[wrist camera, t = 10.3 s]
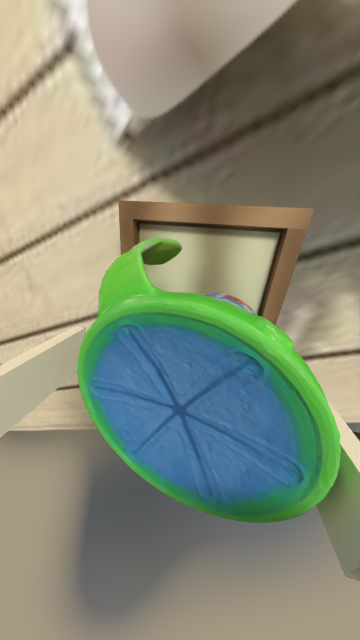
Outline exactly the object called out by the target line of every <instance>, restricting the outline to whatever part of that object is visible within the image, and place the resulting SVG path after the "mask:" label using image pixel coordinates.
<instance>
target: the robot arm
mask: <svg viewBox="0 0 360 640" xmlns="http://www.w3.org/2000/svg"><path fill="white" fill-rule="evenodd" d="M85 335H86V332H85V328H82V327H76V326H75V327H73V328H71V329H69V330H67V331H65V332H63V333H61V334H59V335H58V336H56V337H54V338H52V339H50V340H48V341H46V342H44V343H42V344H40V345H38V346H36V347H34V348H32V349H31V350H29V351H27V352H25V353H23V354H21V355H19V356H17V357H15V358H13V359H11V360H9V361H7V362H6V363H3V364H1V365H0V437H1V436H3V435H4V434H5V433H6V432H7V431H8V430H10V429H11V428H12V427H13V426H14V425H15V424H17V423H18V422H19V421H20V420H21V419H22V418H24V417H25V416H26V415H27V414H28V413H29V412H31V411H32V410H33V409H34V408H35V407H36V406H38V405H39V404H40V403H41V402H42V401H43V400H44V399H46V398H47V397H48V396H49V395H50V394H51V393H53V392H54V391H55V390H56V389H57V388H58V387H60V386H61V385H62V384H63V383H64V382H65V381H67V380H68V379H69V378H70V377H71V376H72V375H74V374H75V373H76V372H77V371H78V356H79V351H80V347H81V344H82V341H83V339H84V336H85ZM326 400H327V399H326ZM327 402H328V400H327ZM328 405H329V407H330V409H331V412H332V414H333V416H334V418H335V421H336V424H337V428H338V431H339V433H340V436H341V437H340V449H341V453H340V465H339V469H338V474H337V478H336V480H335V482H334V485H333V486H332V487H331V488H330V491H329V492H328V494H327V495H326V496H325V498H324V499H323V500H322V501H321V502H319V503H318V504H317V505H316V506H317V508H318V511H319V513H320V516H321V518H322V521H323V523H324V526H325V528H326V531H327V533H328V535H329V538H330V540H331V543H332V545H333V547H334V550H335V552H336V555H337V557H338V560H339V562H340V565H341V567H342V569H343V571H344V574H345V576H346V577H348V578H351V579H354V580H358V581H360V433H357V432H353V431H351V430H350V428H349V427H348V426H347V424H346V423H345V422H344V421H343V419H342V418H341V417H340V416H339V414H338V413H337V412H336V410H335V409H334V408H333V407H332V405H331V404H330V403H329V402H328Z"/></svg>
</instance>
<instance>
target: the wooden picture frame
mask: <svg viewBox="0 0 360 640" xmlns="http://www.w3.org/2000/svg"><path fill="white" fill-rule="evenodd" d="M313 210H314V209H308V208H284V207H260V206H236V205H212V204H188V203H164V202H140V201H119V221H120V241H121V255H122V254H124V253H126V252H128V251H130V250H131V249H132V248H133V247H134V246H135V245H137V244H139V243H141V242H142V241H145V240H147V239H153V238H167V239H173V240H176V241H178V242H179V243H180V244H181V246H182V250H181V252H180V253H179V254H178V255H177V256H176V257H174V258H173V259H171V260H170V261H168V262H166V263H164V264H162V265H147V264H144V267H145V271H146V273H147V275H148V278H149V280H150V282H151V283H152V284H153V285H154V286H155V287H157V288H159V289H160V290H162V291H165V292H181V293H193V294H205V293H223V294H228V295H231V296H234V297H236V298H238V299H240V300H242V301H243V302H244V303H246V304H247V305H249V306H250V307H251V308H252V309H253V310H254V312H255V313H256V315H257V316H261V317H263V318H265V319H267V320H269V321H270V322H271V323H272V324H274V325H276V322H277V319H278V316H279V313H280V310H281V307H282V304H283V301H284V298H285V295H286V292H287V289H288V286H289V283H290V280H291V277H292V274H293V271H294V268H295V265H296V262H297V259H298V256H299V253H300V250H301V247H302V244H303V241H304V238H305V235H306V232H307V229H308V226H309V223H310V220H311V217H312V214H313Z"/></svg>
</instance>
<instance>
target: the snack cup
mask: <svg viewBox="0 0 360 640" xmlns="http://www.w3.org/2000/svg"><path fill="white" fill-rule="evenodd" d="M181 250H182V246H181V244H180V243H179V242H178V241H176V240H173V239H167V238H153V239H147V240H145V241H142V242H141V243H139V244H137V245H135V246H134V247H133V248H132V249H131V250H130V251H128V252H126V253H124V254H122V255H121V256H120V257H119V258H117V260H116V261H115V262H114V263H113V264H112V265H111V266H110V268H109V269H108V270H107V271H106V274H105V276H104V278H103V280H102V285H101V288H100V291H99V311H98V317H97V320H96V321H95V322H94V323H93V324H92V326H91V327H90V328H89V330H88V331H87V333H86V335H85V336H84V339H83V341H82V344H81V347H80V351H79V356H78V380H79V386H80V391H81V394H82V398H83V400H84V403H85V406H86V408H87V410H88V413H89V415H90V417H91V419H92V420H93V422H94V424H95V425H96V427H97V429H98V430H99V432H100V433H101V434H102V436H103V438H104V439H105V440H106V441H107V443H108V444H109V445H110V446H111V448H112V449H114V451H115V452H116V453H117V454H118V455H119V457H120V458H122V460H123V461H124V462H125V463H126V464H127V465H128V466H129V467H130V468H132V469H133V470H134V471H135V472H136V473H137V474H139V475H140V476H141V477H142V478H144V479H145V480H146V481H147V482H149V483H150V484H152V485H153V486H155V487H156V488H158V489H159V490H160V491H162V492H164V493H165V494H167V495H169V496H170V497H172V498H174V499H175V500H178V501H179V502H181V503H183V504H185V505H187V506H190V507H192V508H194V509H197V510H200V511H202V512H205V513H207V514H211V515H214V516H218V517H222V518H226V519H231V520H237V521H244V522H257V523H258V522H259V523H268V522H278V521H283V520H288V519H291V518H295V517H298V516H300V515H302V514H304V513H306V512H308V511H309V510H311V509H312V508H313V507H314V506H316V505H317V504H318V503H319V502H321V501H322V500H323V499H324V498H325V496H326V495H327V494H328V492H329V491H330V488H331V487H332V486H333V485H334V482H335V480H336V478H337V474H338V469H339V465H340V453H341V449H340V437H341V436H340V433H339V431H338V428H337V424H336V421H335V418H334V416H333V414H332V412H331V409H330V407H329V405H328V402H327V400H326V397H325V395H324V393H323V391H322V388H321V386H320V385H319V383H318V381H317V380H316V378H315V376H314V375H313V373H312V372H311V370H310V368H309V367H308V365H307V364H306V363H305V361H304V360H303V359H302V358H301V357H300V355H299V354H298V353H297V352H296V351H295V349H294V348H293V347H294V343H293V341H292V340H291V339H290V338H289V337H288V336H287V335H286V334H285V333H284V332H282V331H281V330H280V329H279V328H278V327H276V326H275V325H274V324H272V323H271V322H270V321H269V320H267V319H265V318H263V317H261V316H257V315H256V313H255V312H254V310H253V309H252V308H251V307H250V306H249V305H247V304H246V303H244V302H243V301H242V300H240V299H238V298H236V297H234V296H231V295H228V294H223V293H205V294H193V293H181V292H165V291H162V290H160V289H159V288H157V287H155V286H154V285H153V284H152V283H151V282H150V280H149V278H148V275H147V273H146V271H145V267H144V264H147V265H162V264H164V263H166V262H168V261H170V260H171V259H173V258H174V257H176V256H177V255H178V254H179V253H180V252H181Z"/></svg>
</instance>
